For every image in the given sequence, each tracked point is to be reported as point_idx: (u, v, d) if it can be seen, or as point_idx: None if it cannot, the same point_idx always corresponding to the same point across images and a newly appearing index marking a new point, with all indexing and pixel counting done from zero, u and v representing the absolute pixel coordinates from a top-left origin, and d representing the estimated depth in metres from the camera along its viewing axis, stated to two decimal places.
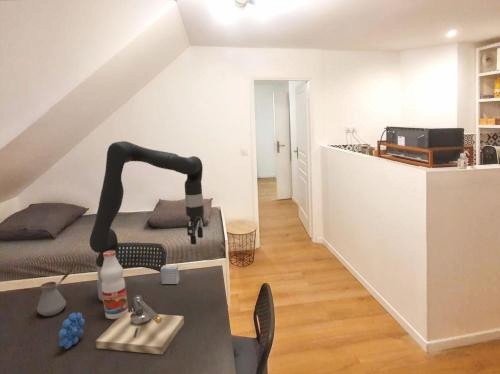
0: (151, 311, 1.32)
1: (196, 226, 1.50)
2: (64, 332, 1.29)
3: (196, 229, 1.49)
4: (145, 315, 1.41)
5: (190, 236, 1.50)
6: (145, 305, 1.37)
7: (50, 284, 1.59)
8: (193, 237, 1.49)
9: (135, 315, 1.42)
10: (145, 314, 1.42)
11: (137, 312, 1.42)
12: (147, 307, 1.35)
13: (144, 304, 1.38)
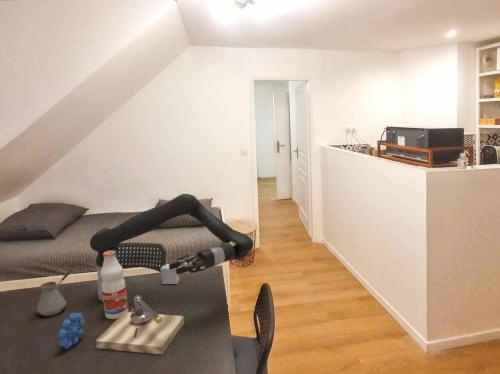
0: (151, 311, 1.32)
1: (194, 269, 1.39)
2: (64, 332, 1.29)
3: None
4: (145, 315, 1.41)
5: (185, 266, 1.35)
6: (145, 305, 1.37)
7: (50, 284, 1.60)
8: (185, 271, 1.35)
9: (135, 315, 1.42)
10: (145, 314, 1.42)
11: (137, 312, 1.42)
12: (147, 307, 1.35)
13: (144, 304, 1.38)
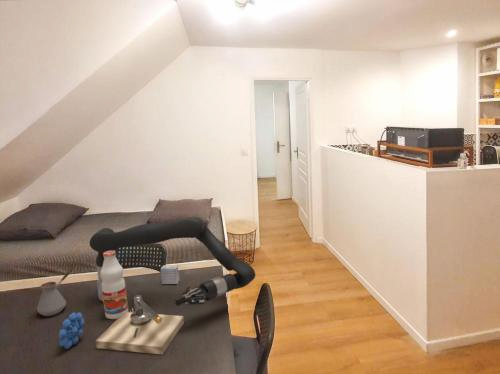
0: (151, 311, 1.32)
1: (195, 301, 1.42)
2: (64, 332, 1.29)
3: None
4: (145, 315, 1.41)
5: (184, 298, 1.40)
6: (145, 305, 1.37)
7: (50, 284, 1.60)
8: (184, 302, 1.40)
9: (135, 315, 1.42)
10: (145, 314, 1.42)
11: (137, 312, 1.42)
12: (147, 307, 1.35)
13: (144, 304, 1.38)
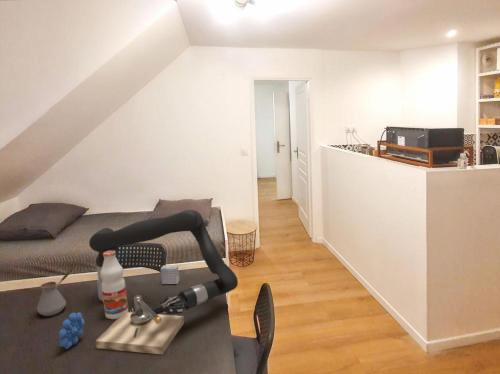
0: (151, 311, 1.32)
1: None
2: (64, 332, 1.29)
3: None
4: (145, 315, 1.41)
5: (161, 307, 1.34)
6: (145, 305, 1.37)
7: (50, 284, 1.60)
8: (162, 312, 1.34)
9: (135, 315, 1.42)
10: (144, 314, 1.42)
11: (137, 312, 1.42)
12: (147, 307, 1.35)
13: (144, 304, 1.38)
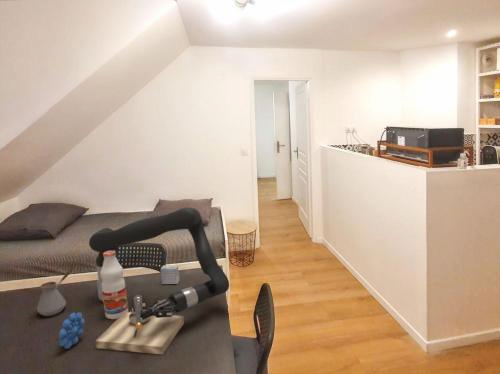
0: (138, 315, 1.30)
1: None
2: (64, 332, 1.29)
3: None
4: None
5: (150, 311, 1.32)
6: (138, 307, 1.36)
7: (50, 284, 1.59)
8: (151, 315, 1.32)
9: (134, 314, 1.43)
10: None
11: (136, 312, 1.42)
12: (138, 310, 1.34)
13: (138, 306, 1.36)
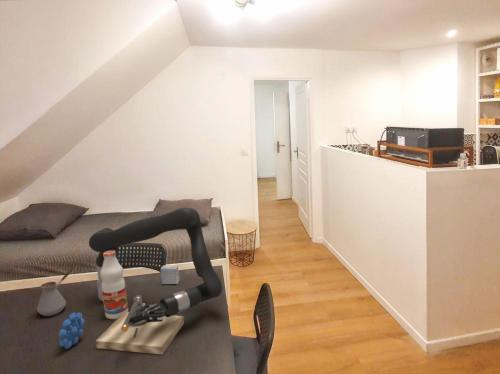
0: (129, 316, 1.29)
1: None
2: (64, 332, 1.29)
3: None
4: None
5: (141, 315, 1.30)
6: (133, 308, 1.35)
7: (50, 284, 1.59)
8: (141, 320, 1.29)
9: (134, 314, 1.43)
10: None
11: (135, 312, 1.43)
12: (131, 310, 1.33)
13: (133, 306, 1.36)
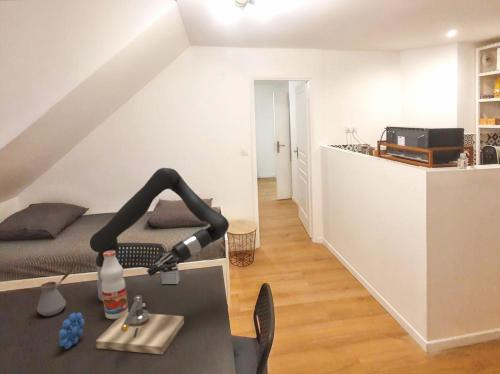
0: (128, 316, 1.29)
1: None
2: (64, 332, 1.29)
3: (166, 268, 1.38)
4: (139, 317, 1.40)
5: (156, 267, 1.36)
6: (133, 308, 1.35)
7: (50, 284, 1.59)
8: None
9: (134, 314, 1.43)
10: (140, 316, 1.41)
11: (135, 312, 1.43)
12: (131, 311, 1.33)
13: (133, 306, 1.36)
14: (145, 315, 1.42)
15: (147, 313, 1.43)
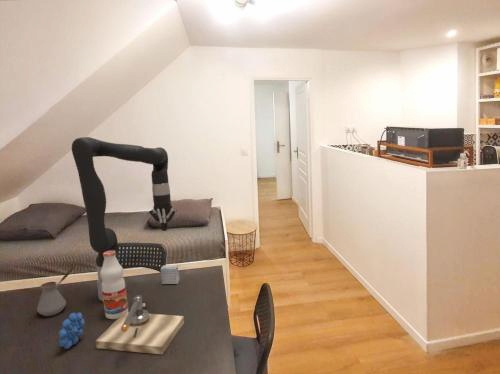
0: (128, 316, 1.29)
1: None
2: (64, 332, 1.29)
3: (168, 215, 1.63)
4: (139, 317, 1.40)
5: (164, 223, 1.61)
6: (133, 308, 1.35)
7: (50, 284, 1.60)
8: (167, 223, 1.62)
9: (134, 314, 1.43)
10: (140, 316, 1.41)
11: (135, 312, 1.43)
12: (131, 311, 1.33)
13: (133, 306, 1.36)
14: (145, 315, 1.42)
15: (147, 313, 1.43)
